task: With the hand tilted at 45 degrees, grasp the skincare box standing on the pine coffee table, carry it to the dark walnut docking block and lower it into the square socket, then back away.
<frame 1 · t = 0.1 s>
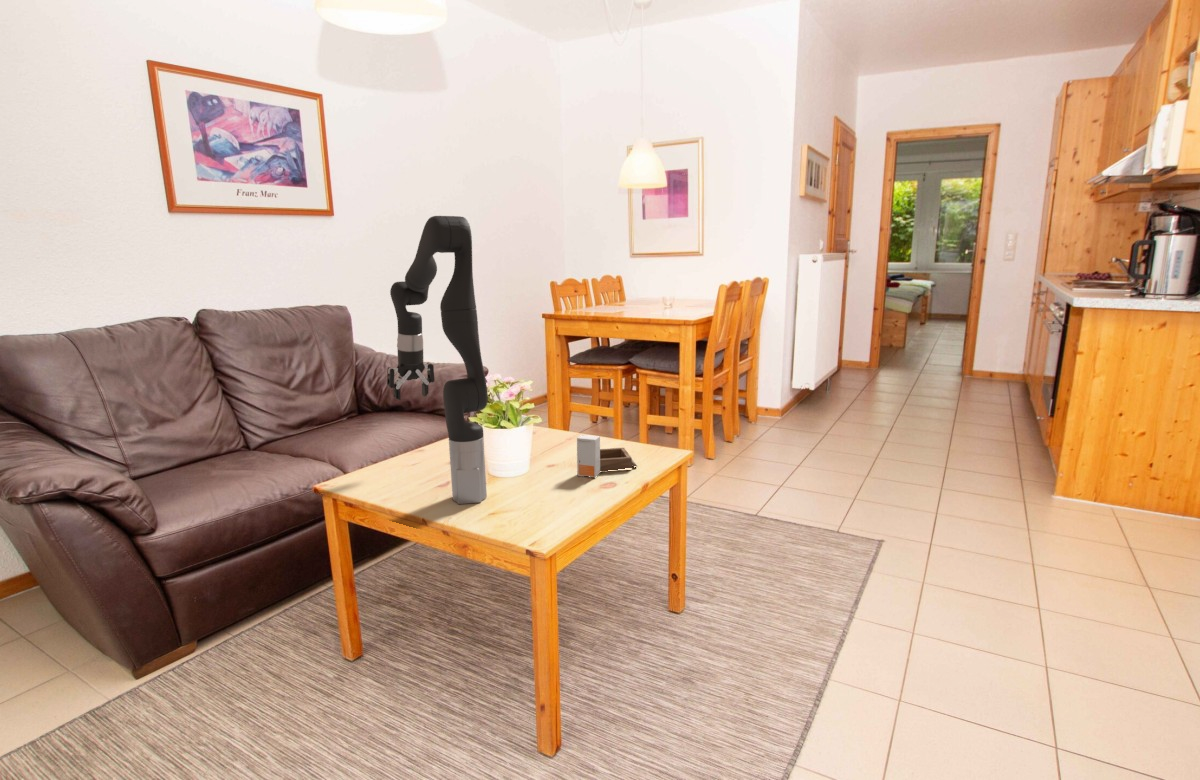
hand: (411, 397, 196), 22 cm above the table, tool pointing down, fingers open, 8 cm apart
skincare box: (589, 475, 190), on the table
dock: (610, 465, 198), on the table
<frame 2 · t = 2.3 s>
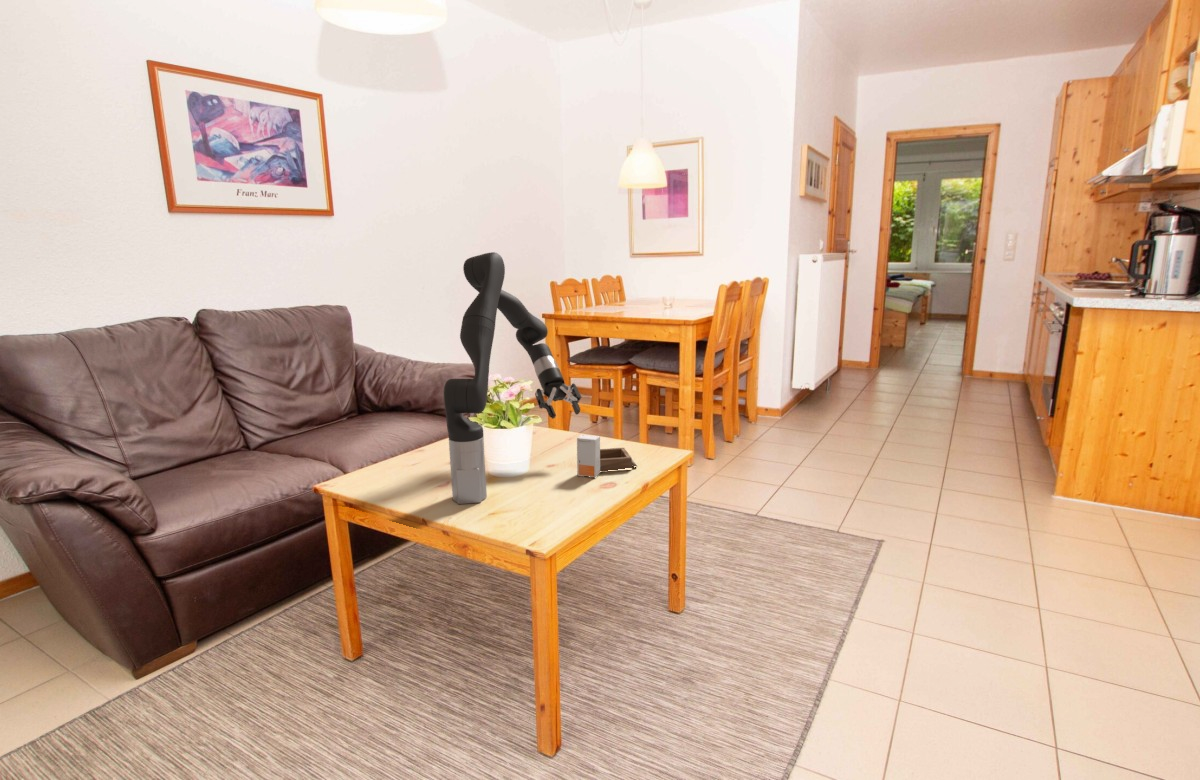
hand: (566, 415, 197), 16 cm above the table, tool tilted 45°, fingers open, 8 cm apart
nothing on the table moved.
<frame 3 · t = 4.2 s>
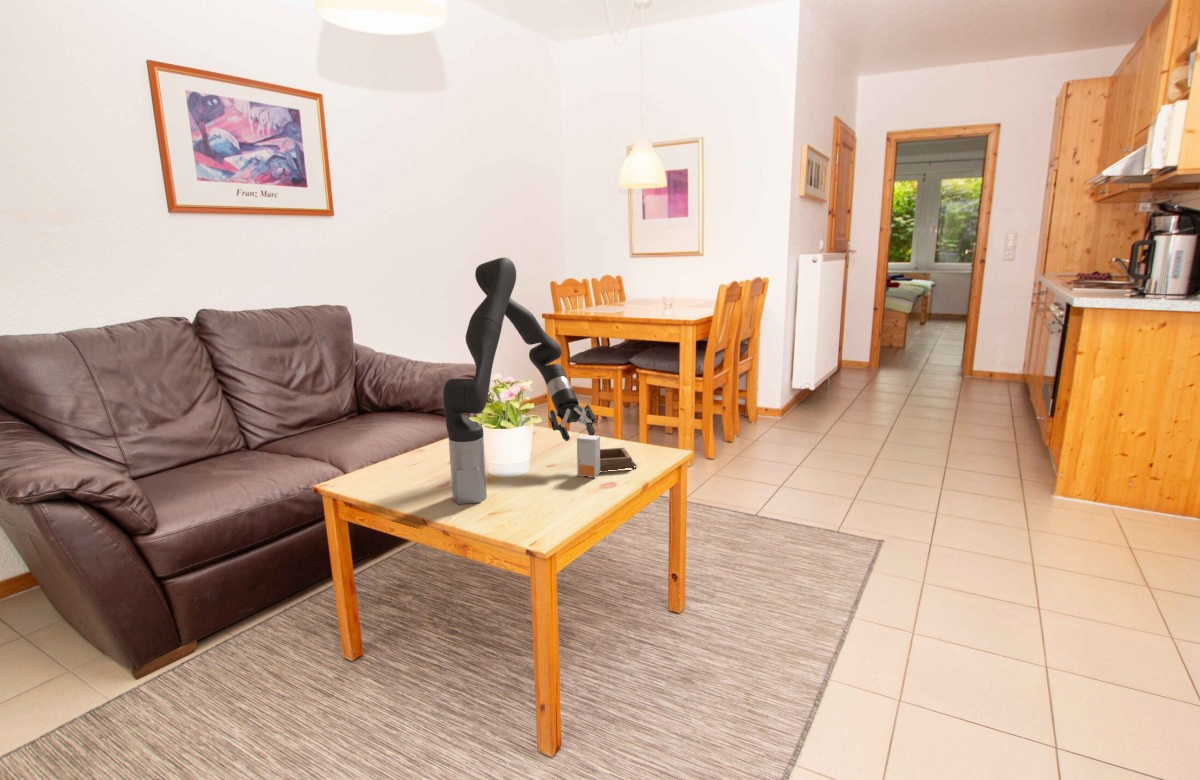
hand: (580, 437, 192), 11 cm above the table, tool tilted 45°, fingers open, 8 cm apart
nothing on the table moved.
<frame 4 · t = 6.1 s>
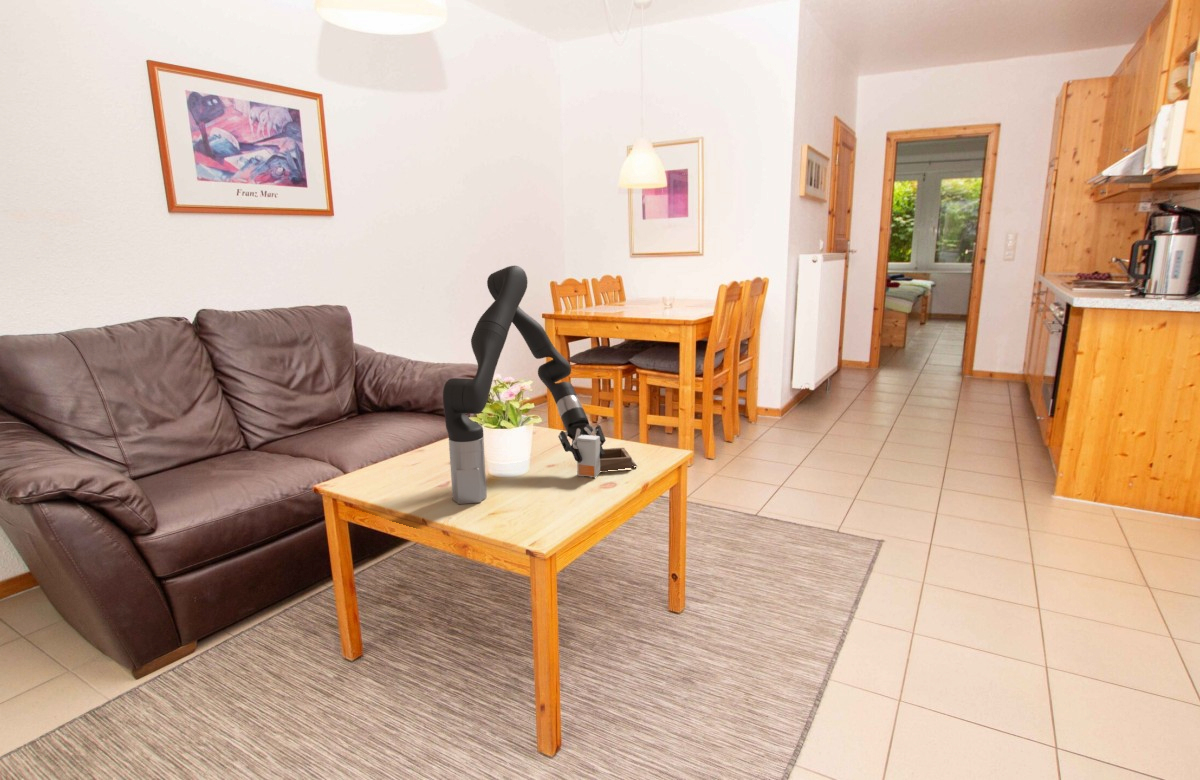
hand: (591, 459, 187), 5 cm above the table, tool tilted 45°, fingers closed on skincare box, 7 cm apart
skincare box: (589, 475, 190), on the table, touching gripper
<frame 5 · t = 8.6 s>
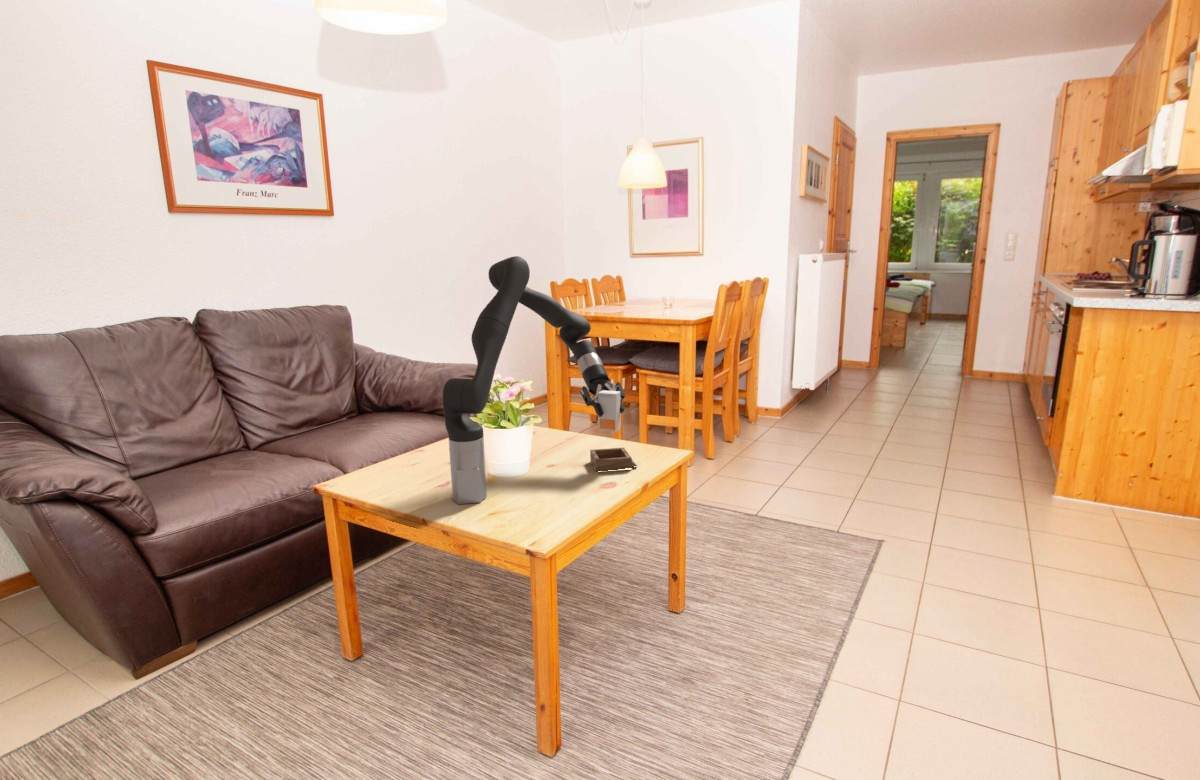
hand: (612, 413, 193), 17 cm above the table, tool tilted 45°, fingers closed on skincare box, 7 cm apart
skincare box: (609, 430, 196), point 12 cm above the table, touching gripper
when the fingers open (8 cm above the table, at t = 10.9 s): skincare box drops 1 cm, resting on dock.
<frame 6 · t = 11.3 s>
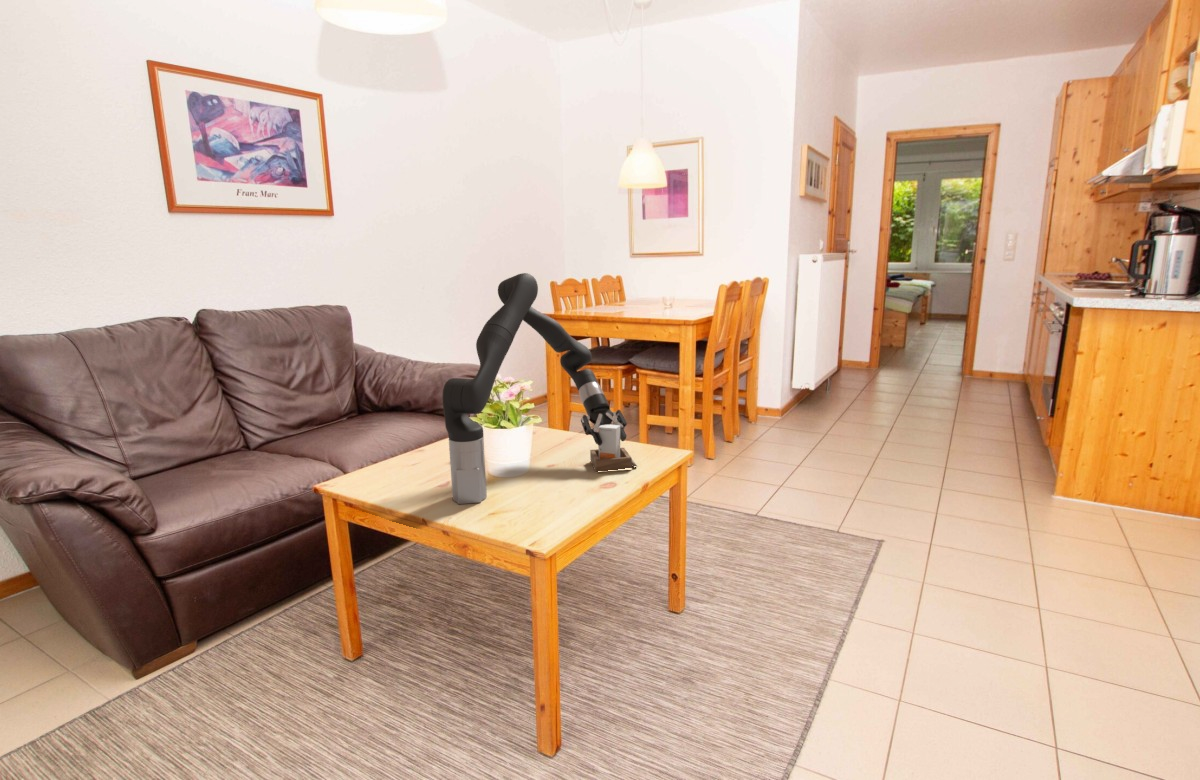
hand: (612, 442, 195), 8 cm above the table, tool tilted 45°, fingers open, 8 cm apart
skincare box: (609, 463, 198), point 1 cm above the table, touching dock
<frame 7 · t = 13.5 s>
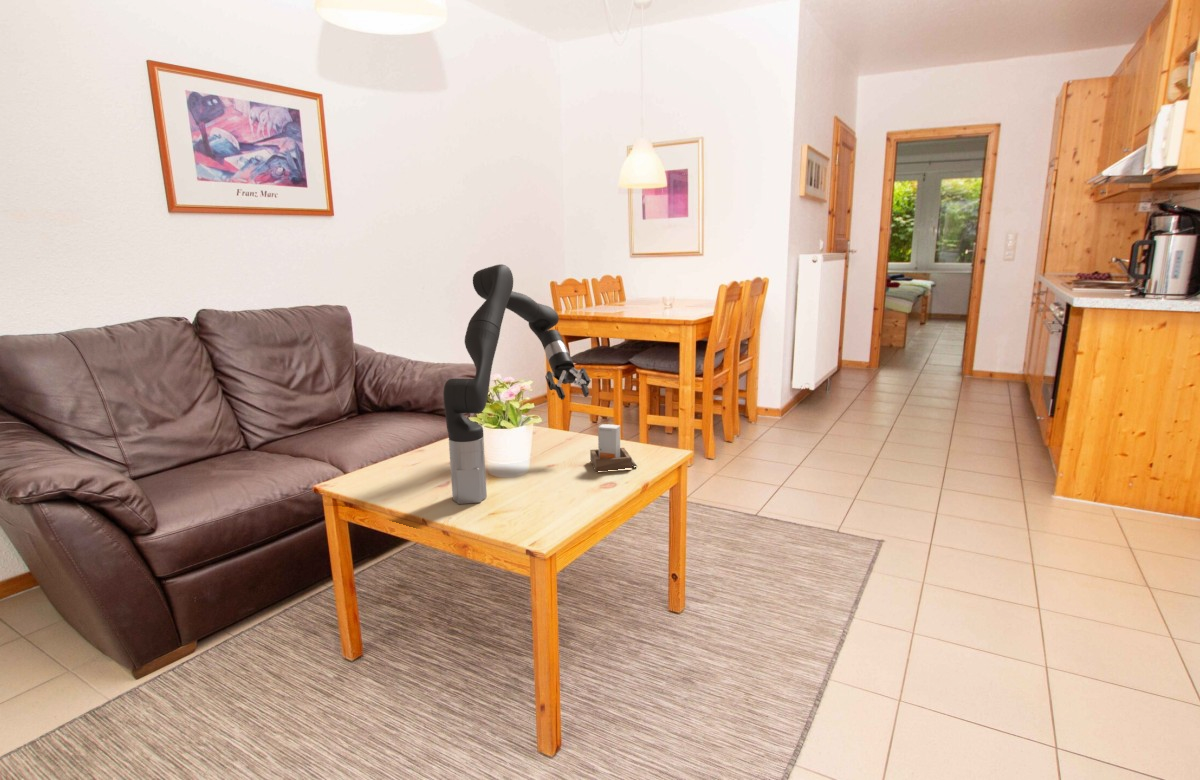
hand: (575, 397, 203), 20 cm above the table, tool tilted 45°, fingers open, 8 cm apart
nothing on the table moved.
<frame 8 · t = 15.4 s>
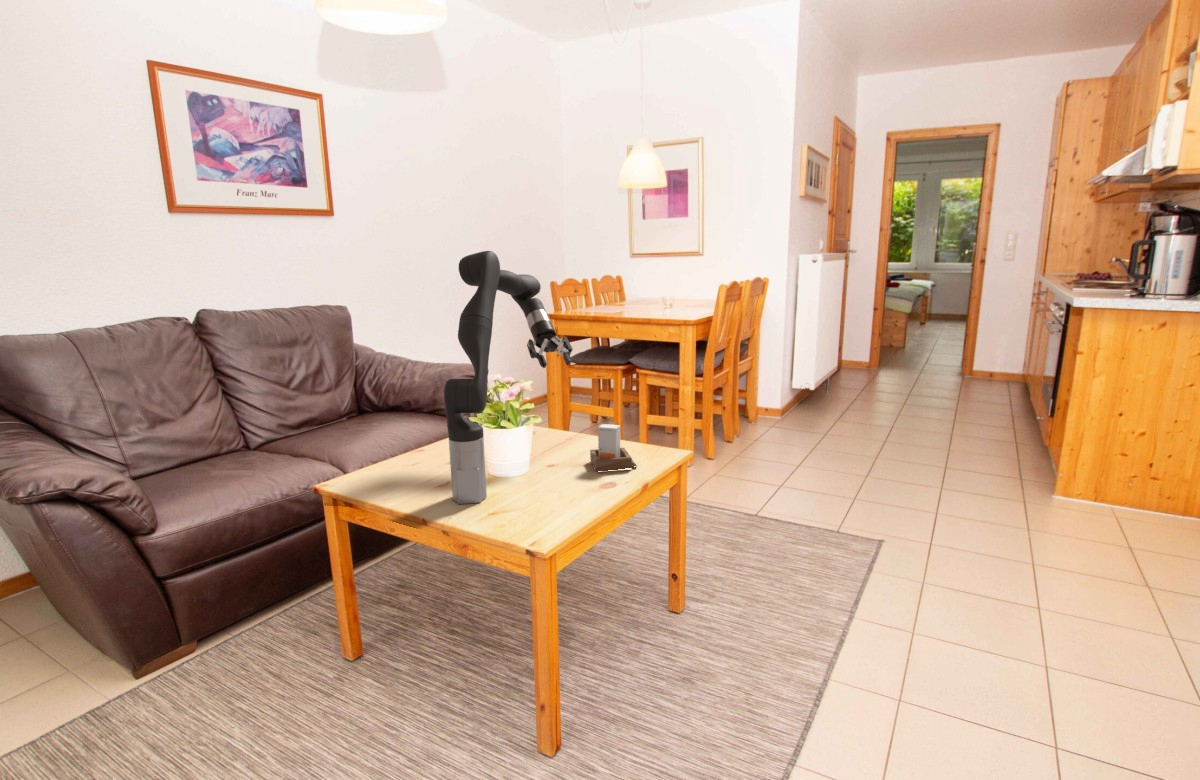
hand: (557, 365, 201), 31 cm above the table, tool tilted 45°, fingers open, 8 cm apart
nothing on the table moved.
at the end: skincare box 0.3 cm from the dock (horizontally); skincare box tilted 0°; the gripper is holding nothing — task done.
